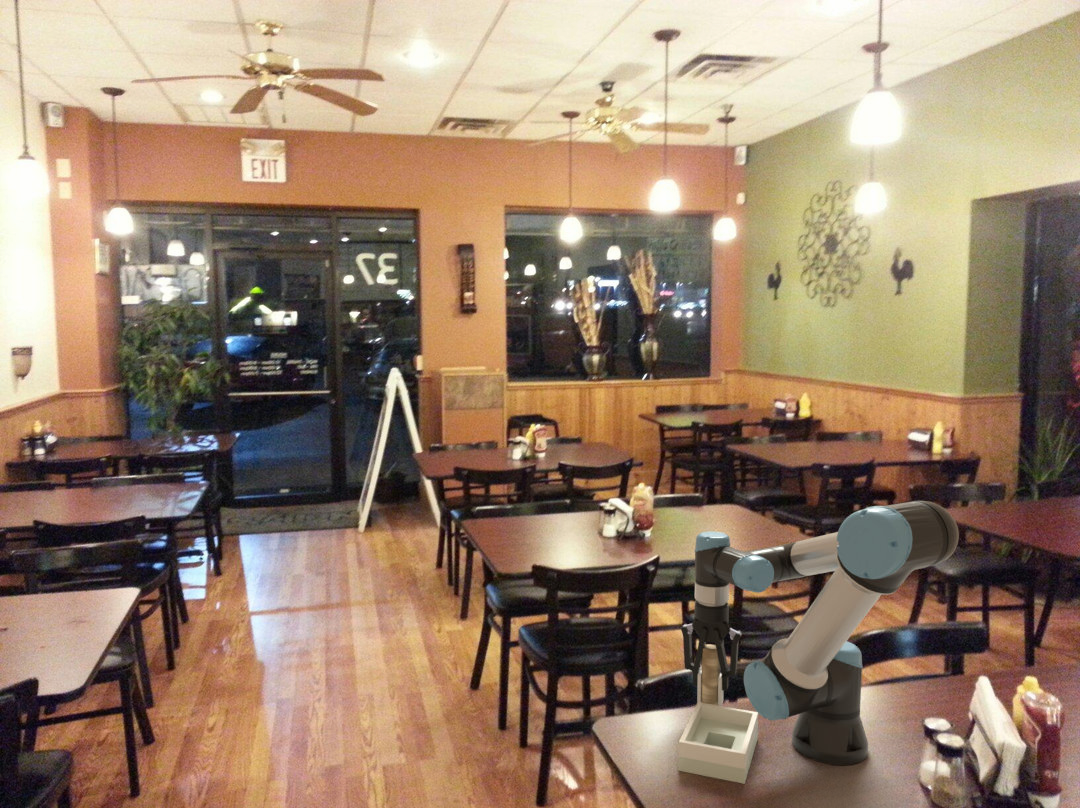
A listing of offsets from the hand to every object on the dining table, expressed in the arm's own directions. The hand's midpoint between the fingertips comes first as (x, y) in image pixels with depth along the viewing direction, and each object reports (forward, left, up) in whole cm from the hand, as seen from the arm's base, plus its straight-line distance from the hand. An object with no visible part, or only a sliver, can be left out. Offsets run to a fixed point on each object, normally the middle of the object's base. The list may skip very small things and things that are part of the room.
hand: (710, 701), depth 188 cm
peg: (0, 0, -3) cm, 3 cm away
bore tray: (-5, +16, -4) cm, 17 cm away
